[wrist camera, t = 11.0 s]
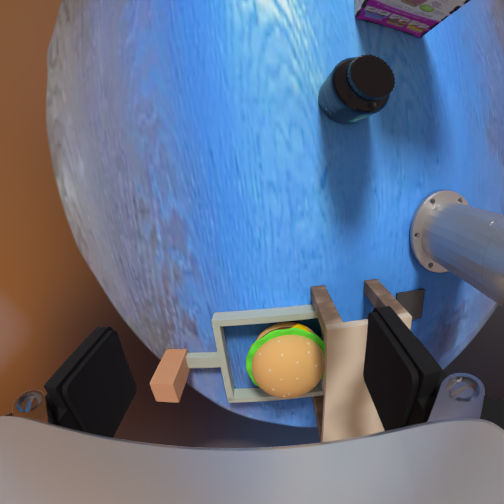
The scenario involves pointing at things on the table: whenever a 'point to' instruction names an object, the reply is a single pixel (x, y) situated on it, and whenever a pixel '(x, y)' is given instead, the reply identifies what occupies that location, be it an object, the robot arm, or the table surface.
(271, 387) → the hamburger
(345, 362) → the tunnel
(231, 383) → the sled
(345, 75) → the supplement bottle
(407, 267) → the table surface
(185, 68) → the table surface
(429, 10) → the candy bar box
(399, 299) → the pit square
